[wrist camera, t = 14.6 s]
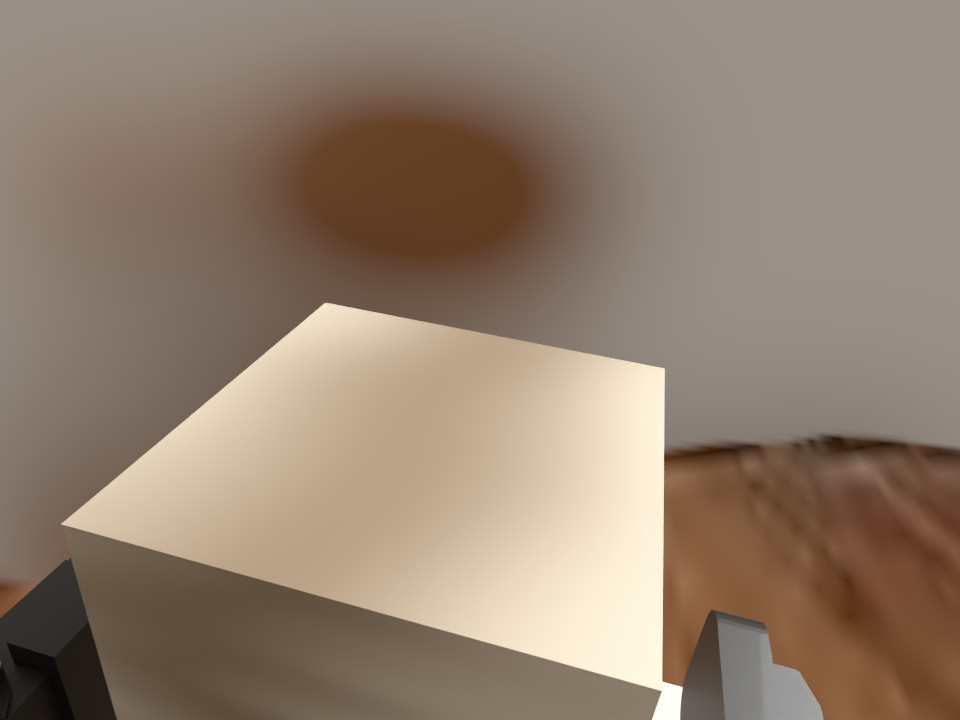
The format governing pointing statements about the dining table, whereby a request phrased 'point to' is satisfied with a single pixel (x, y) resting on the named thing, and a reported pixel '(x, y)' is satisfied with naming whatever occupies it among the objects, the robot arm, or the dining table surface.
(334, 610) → the birch post
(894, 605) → the dining table surface
